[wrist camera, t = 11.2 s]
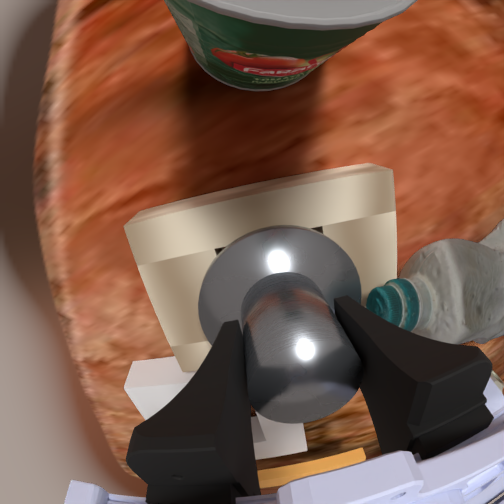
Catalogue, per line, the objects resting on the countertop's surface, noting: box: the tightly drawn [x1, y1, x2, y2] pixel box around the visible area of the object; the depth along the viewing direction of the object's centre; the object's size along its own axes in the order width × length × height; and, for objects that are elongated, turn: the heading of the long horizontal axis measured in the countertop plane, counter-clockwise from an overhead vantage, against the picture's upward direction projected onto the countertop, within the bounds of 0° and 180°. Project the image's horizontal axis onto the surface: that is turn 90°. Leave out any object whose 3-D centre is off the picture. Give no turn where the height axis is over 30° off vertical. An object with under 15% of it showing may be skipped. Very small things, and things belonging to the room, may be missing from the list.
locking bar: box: [257, 448, 366, 488], centre depth 22 cm, size 15×2×1 cm, turn 102°
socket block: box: [124, 356, 307, 460], centre depth 22 cm, size 12×12×3 cm
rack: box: [124, 163, 397, 372], centre depth 18 cm, size 14×10×3 cm
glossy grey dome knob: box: [198, 225, 363, 424], centre depth 14 cm, size 8×8×9 cm
